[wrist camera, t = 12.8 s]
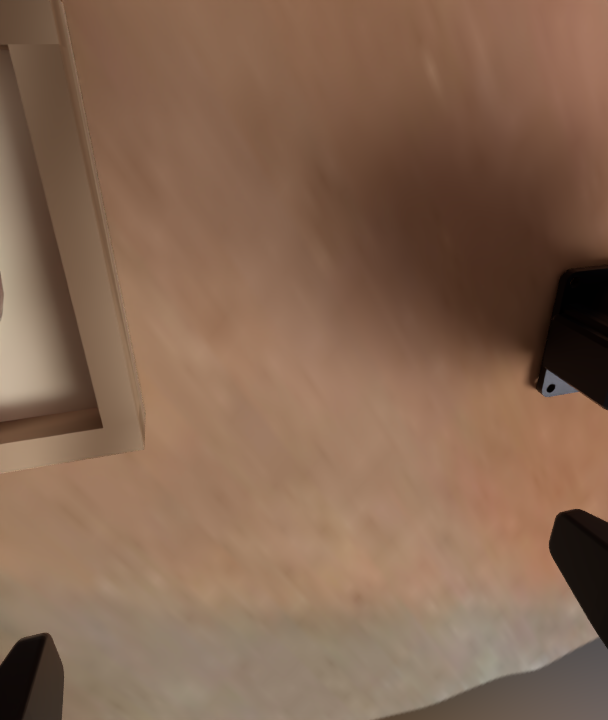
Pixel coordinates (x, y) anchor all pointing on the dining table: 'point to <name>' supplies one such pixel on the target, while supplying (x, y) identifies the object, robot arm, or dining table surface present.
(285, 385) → the dining table surface
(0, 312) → the soda can
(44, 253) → the birch tray
